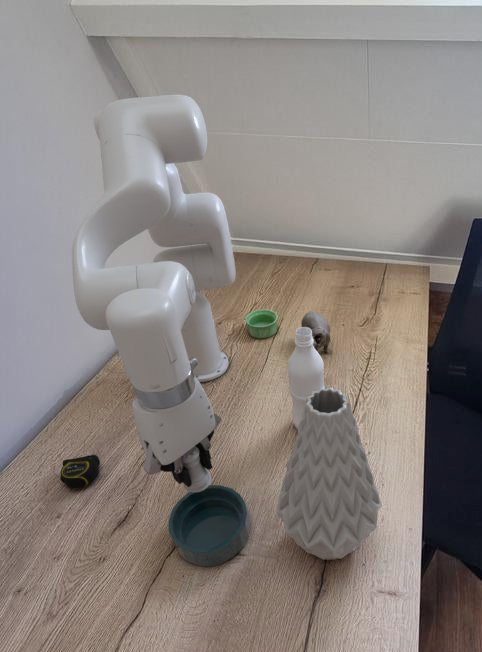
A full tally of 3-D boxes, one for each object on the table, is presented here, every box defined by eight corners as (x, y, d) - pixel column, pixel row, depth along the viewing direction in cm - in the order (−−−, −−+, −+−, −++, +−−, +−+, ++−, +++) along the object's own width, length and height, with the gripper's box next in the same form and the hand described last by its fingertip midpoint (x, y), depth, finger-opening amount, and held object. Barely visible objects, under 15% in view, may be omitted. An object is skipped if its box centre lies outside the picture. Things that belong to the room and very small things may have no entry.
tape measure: (103, 462, 95) (96, 450, 92) (98, 488, 90) (91, 477, 87) (69, 468, 94) (62, 456, 92) (62, 494, 89) (54, 483, 87)
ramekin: (285, 327, 129) (283, 314, 126) (266, 343, 124) (264, 330, 121) (259, 319, 133) (258, 306, 130) (240, 334, 127) (238, 321, 124)
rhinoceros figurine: (332, 320, 126) (327, 298, 111) (334, 368, 123) (329, 351, 108) (305, 322, 127) (296, 300, 112) (306, 369, 124) (297, 353, 110)
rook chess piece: (199, 498, 70) (187, 465, 65) (178, 486, 72) (165, 453, 66) (217, 478, 73) (208, 445, 67) (196, 467, 75) (186, 434, 69)
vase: (263, 531, 81) (236, 395, 59) (333, 483, 88) (333, 346, 66) (321, 604, 71) (316, 475, 49) (396, 544, 78) (421, 406, 56)
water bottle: (322, 439, 97) (319, 344, 80) (289, 435, 98) (280, 341, 81) (327, 416, 102) (326, 322, 85) (296, 412, 103) (289, 319, 86)
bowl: (160, 537, 81) (152, 522, 78) (215, 489, 89) (211, 473, 85) (209, 583, 75) (203, 568, 71) (265, 526, 82) (262, 510, 79)
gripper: (195, 343, 65) (217, 431, 77) (91, 407, 56) (136, 495, 68) (231, 362, 61) (248, 452, 73) (126, 434, 52) (167, 522, 64)
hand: (194, 472), depth 71 cm, fingers closed on rook chess piece, 3 cm apart
